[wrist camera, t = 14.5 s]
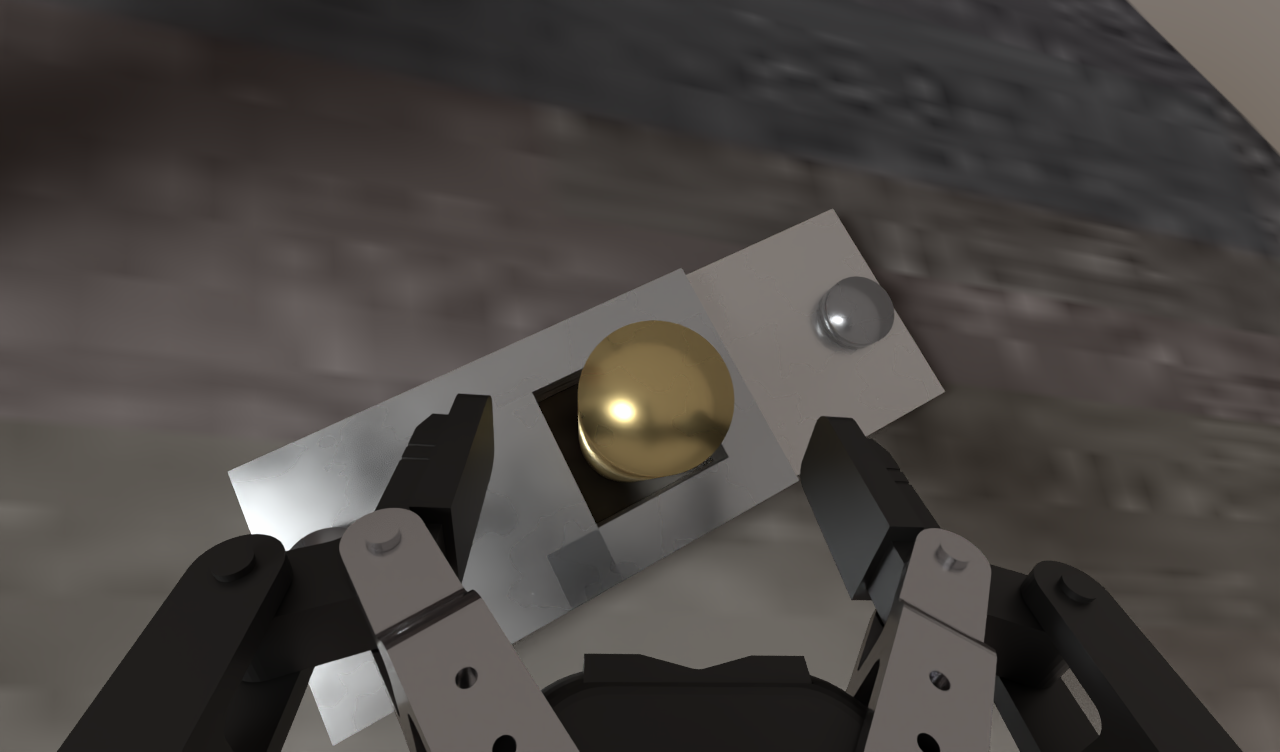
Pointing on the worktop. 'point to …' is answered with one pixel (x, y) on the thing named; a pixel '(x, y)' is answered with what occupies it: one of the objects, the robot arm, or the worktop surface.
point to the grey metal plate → (537, 472)
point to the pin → (652, 402)
